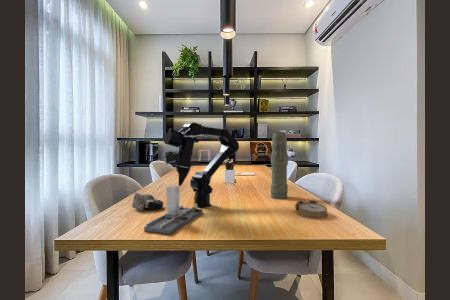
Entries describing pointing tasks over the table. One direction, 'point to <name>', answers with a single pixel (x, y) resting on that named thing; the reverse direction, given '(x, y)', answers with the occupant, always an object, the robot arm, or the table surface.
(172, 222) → the rail
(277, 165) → the thermos
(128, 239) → the table surface
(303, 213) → the alarm clock
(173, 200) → the block
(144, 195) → the caster wheel
